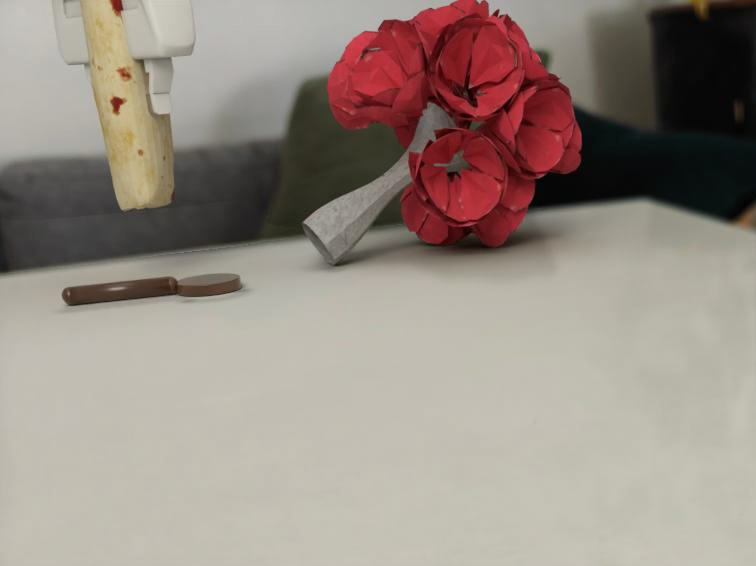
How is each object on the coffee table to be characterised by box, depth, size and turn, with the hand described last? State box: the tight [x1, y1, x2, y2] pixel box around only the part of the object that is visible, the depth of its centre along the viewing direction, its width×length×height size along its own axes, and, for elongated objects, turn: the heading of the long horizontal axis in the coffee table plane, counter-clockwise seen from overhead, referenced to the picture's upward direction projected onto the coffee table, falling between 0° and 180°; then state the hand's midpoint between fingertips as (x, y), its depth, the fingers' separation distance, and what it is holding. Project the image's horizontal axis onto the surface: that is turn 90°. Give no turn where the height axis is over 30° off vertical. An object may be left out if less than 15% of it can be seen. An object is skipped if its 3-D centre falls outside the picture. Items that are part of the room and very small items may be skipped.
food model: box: [80, 0, 176, 212], centre depth 108 cm, size 10×7×20 cm
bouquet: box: [301, 0, 583, 266], centre depth 114 cm, size 22×24×30 cm
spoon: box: [61, 272, 242, 306], centre depth 105 cm, size 16×6×2 cm, turn 104°
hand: (136, 114), depth 109 cm, fingers closed on food model, 8 cm apart
